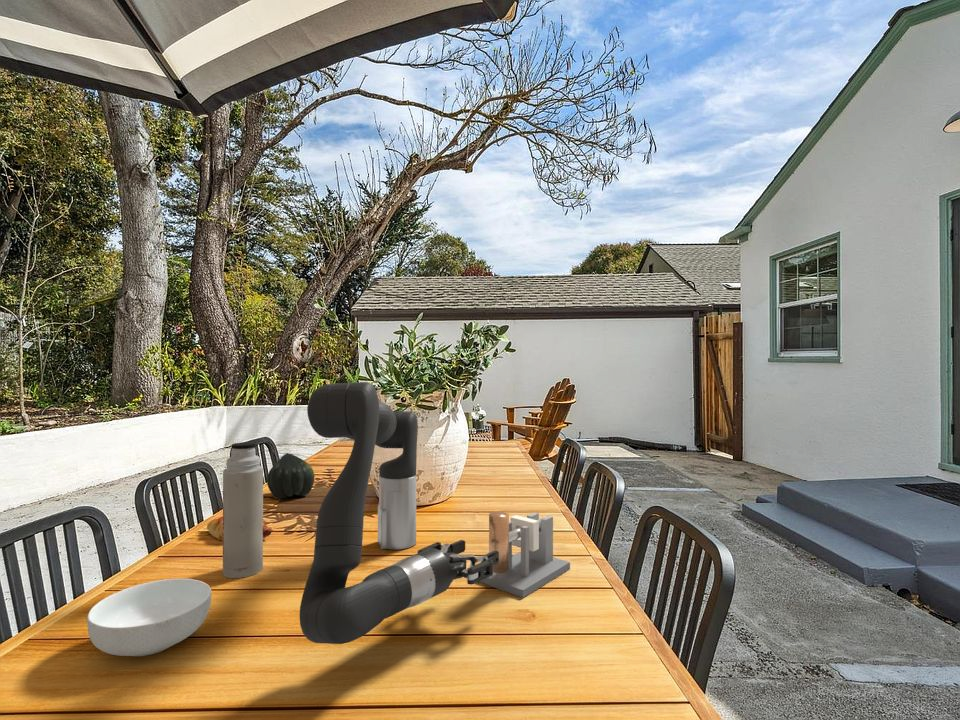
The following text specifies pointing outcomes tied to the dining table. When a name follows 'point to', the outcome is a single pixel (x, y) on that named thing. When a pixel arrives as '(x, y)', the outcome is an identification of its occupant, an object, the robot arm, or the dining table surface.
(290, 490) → the squash
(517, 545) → the block
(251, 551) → the thermos bottle
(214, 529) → the croissant
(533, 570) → the shaft bracket
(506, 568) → the shaft
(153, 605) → the cereal bowl
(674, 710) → the dining table surface
